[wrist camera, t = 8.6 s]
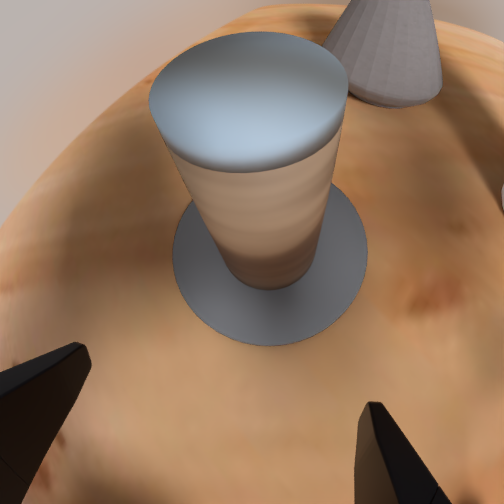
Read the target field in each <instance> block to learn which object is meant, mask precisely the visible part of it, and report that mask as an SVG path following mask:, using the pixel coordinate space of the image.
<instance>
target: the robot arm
mask: <svg viewBox="0 0 504 504" xmlns="http://www.w3.org/2000/svg"><path fill="white" fill-rule="evenodd" d="M91 366H92V363H91V359H90V356H89V353H88V350H87V347H86V346H85V345H84V344H81V343H79V342H73V343H70V344H68V345H66V346H63V347H61V348H58V349H56V350H54V351H51V352H49V353H46V354H44V355H41V356H39V357H37V358H34V359H32V360H29V361H27V362H24V363H22V364H20V365H17V366H15V367H12V368H10V369H7V370H5V371H2V372H0V504H21V503H22V501H23V499H24V497H25V495H26V492H27V490H28V488H29V486H30V484H31V482H32V480H33V478H34V476H35V474H36V472H37V470H38V468H39V466H40V465H41V463H42V461H43V459H44V457H45V455H46V453H47V451H48V450H49V448H50V446H51V444H52V442H53V440H54V439H55V437H56V435H57V433H58V431H59V430H60V428H61V426H62V424H63V423H64V421H65V419H66V417H67V416H68V414H69V412H70V411H71V409H72V407H73V405H74V403H75V402H76V400H77V397H78V395H79V393H80V391H81V389H82V387H83V384H84V382H85V380H86V378H87V376H88V374H89V372H90V370H91ZM354 491H355V504H452V503H451V502H450V500H449V499H448V497H447V496H446V495H445V493H444V492H443V490H442V489H441V487H440V486H438V483H437V482H436V480H435V479H434V477H433V476H432V474H431V473H430V471H429V470H428V468H427V467H426V465H425V464H424V462H423V461H422V460H421V458H420V457H419V455H418V454H417V452H416V451H415V449H414V448H413V447H412V445H411V444H410V442H409V441H408V439H407V438H406V436H405V435H404V434H403V432H402V431H401V429H400V428H399V426H398V425H397V424H396V422H395V421H394V419H393V418H392V416H391V415H390V414H389V412H388V411H387V409H386V408H385V406H384V405H383V404H382V403H381V402H372V401H370V402H368V403H367V404H366V405H365V408H364V410H363V412H362V414H361V416H360V418H359V421H358V431H357V444H356V455H355V466H354Z"/></svg>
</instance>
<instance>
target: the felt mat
mask: <svg viewBox="0 0 504 504" xmlns="http://www.w3.org/2000/svg"><path fill="white" fill-rule="evenodd" d="M367 255H368V250H367V239H366V235H365V230H364V227H363V224H362V221H361V219H360V217H359V215H358V213H357V211H356V209H355V207H354V206H353V205H352V203H351V202H350V200H349V199H348V198H347V197H346V196H345V195H344V193H343V192H342V191H341V190H340V189H339V188H337V187H336V186H335V185H334V184H332V183H331V186H330V191H329V196H328V200H327V205H326V209H325V214H324V218H323V223H322V227H321V232H320V236H319V240H318V244H317V248H316V253H315V257H314V260H313V262H312V264H311V266H310V268H309V270H308V271H307V272H306V274H305V275H304V276H303V277H302V278H301V279H299V280H298V281H297V282H295V283H294V284H292V285H290V286H288V287H285V288H282V289H277V290H259V289H255V288H252V287H249V286H247V285H245V284H243V283H242V282H240V281H239V280H238V279H236V278H235V277H234V276H233V275H232V273H231V272H230V271H229V269H228V267H227V266H226V264H225V262H224V260H223V258H222V256H221V254H220V252H219V250H218V248H217V246H216V244H215V242H214V240H213V238H212V237H211V235H210V233H209V231H208V229H207V227H206V225H205V223H204V221H203V219H202V217H201V215H200V213H199V211H198V209H197V207H196V205H195V203H194V201H192V202H191V203H190V205H189V206H188V208H187V209H186V211H185V212H184V214H183V216H182V218H181V220H180V222H179V225H178V228H177V231H176V234H175V238H174V244H173V268H174V273H175V277H176V281H177V284H178V287H179V289H180V291H181V294H182V296H183V297H184V299H185V301H186V302H187V304H188V305H189V307H190V308H191V309H192V310H193V312H194V313H195V314H196V315H197V316H198V317H199V318H200V319H201V320H202V321H203V322H205V323H206V324H207V325H208V326H210V327H211V328H213V329H214V330H216V331H217V332H219V333H221V334H223V335H225V336H227V337H229V338H231V339H234V340H237V341H240V342H243V343H247V344H252V345H259V346H277V345H286V344H291V343H295V342H299V341H302V340H304V339H307V338H309V337H312V336H314V335H316V334H317V333H319V332H321V331H323V330H324V329H326V328H327V327H328V326H330V325H331V324H332V323H334V322H335V321H336V320H337V319H338V318H339V317H340V316H341V315H342V314H343V313H344V312H345V311H346V310H347V308H348V307H349V306H350V304H351V303H352V301H353V300H354V298H355V297H356V295H357V293H358V291H359V289H360V287H361V284H362V281H363V279H364V276H365V271H366V266H367Z"/></svg>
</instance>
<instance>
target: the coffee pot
mask: <svg viewBox="0 0 504 504" xmlns="http://www.w3.org/2000/svg"><path fill="white" fill-rule="evenodd" d="M322 47H323V48H325V49H326V50H328V51H329V52H330V53H331V54H333V55H334V56H335V57H336V58H337V59H338V60H339V61H340V63H341V64H342V66H343V67H344V69H345V71H346V74H347V77H348V91H349V92H350V93H352V94H353V95H355V96H356V97H357V98H359V99H361V100H363V101H365V102H367V103H370V104H373V105H376V106H380V107H385V108H404V107H410V106H416V105H421V104H424V103H426V102H428V101H429V100H431V99H432V98H434V97H435V96H437V95H438V93H439V91H440V90H441V88H442V85H443V79H442V68H441V61H440V53H439V47H438V41H437V35H436V29H435V24H434V19H433V14H432V10H431V6H430V1H429V0H351V1H350V3H349V5H348V6H347V8H346V9H345V11H344V12H343V14H342V15H341V17H340V18H339V20H338V21H337V23H336V24H335V26H334V28H333V29H332V31H331V32H330V34H329V35H328V37H327V39H326V40H325V42H324V43H323V45H322Z"/></svg>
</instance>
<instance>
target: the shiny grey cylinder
mask: <svg viewBox="0 0 504 504" xmlns="http://www.w3.org/2000/svg"><path fill="white" fill-rule="evenodd" d="M347 94H348V77H347V74H346V71H345V69H344V67H343V66H342V64H341V63H340V61H339V60H338V59H337V58H336V57H335V56H334V55H333V54H331V53H330V52H329V51H328V50H326V49H325V48H323V47H321V46H320V45H318V44H316V43H314V42H312V41H309V40H306V39H304V38H301V37H297V36H293V35H289V34H283V33H276V32H245V33H237V34H231V35H226V36H222V37H218V38H215V39H212V40H209V41H206V42H203V43H201V44H199V45H196V46H194V47H192V48H190V49H189V50H187V51H185V52H183V53H182V54H180V55H179V56H178V57H176V58H175V59H173V60H172V61H171V62H170V63H169V64H168V65H167V66H166V67H165V68H164V69H163V70H162V71H161V72H160V73H159V75H158V76H157V78H156V79H155V81H154V83H153V85H152V87H151V90H150V94H149V108H150V111H151V114H152V116H153V119H154V121H155V123H156V125H157V127H158V129H159V131H160V133H161V135H162V138H163V140H164V142H165V144H166V146H167V148H168V150H169V152H170V154H171V156H172V158H173V160H174V162H175V164H176V166H177V169H178V171H179V173H180V175H181V177H182V179H183V181H184V183H185V185H186V187H187V189H188V191H189V193H190V195H191V197H192V199H193V201H194V203H195V205H196V207H197V209H198V211H199V213H200V215H201V217H202V219H203V221H204V223H205V225H206V227H207V229H208V231H209V233H210V235H211V237H212V238H213V240H214V242H215V244H216V246H217V248H218V250H219V252H220V254H221V256H222V258H223V260H224V262H225V264H226V266H227V267H228V269H229V271H230V272H231V273H232V275H233V276H234V277H235V278H236V279H238V280H239V281H240V282H242V283H243V284H245V285H247V286H249V287H252V288H255V289H259V290H277V289H282V288H285V287H288V286H290V285H292V284H294V283H295V282H297V281H298V280H299V279H301V278H302V277H303V276H304V275H305V274H306V272H307V271H308V270H309V268H310V266H311V264H312V262H313V260H314V257H315V253H316V248H317V244H318V240H319V236H320V232H321V227H322V223H323V218H324V214H325V209H326V205H327V200H328V196H329V191H330V186H331V181H332V177H333V172H334V167H335V162H336V156H337V151H338V146H339V141H340V135H341V130H342V124H343V118H344V112H345V106H346V100H347Z"/></svg>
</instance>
